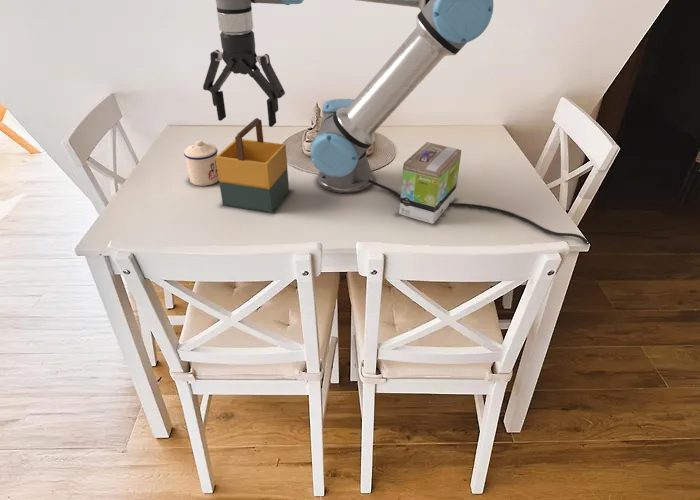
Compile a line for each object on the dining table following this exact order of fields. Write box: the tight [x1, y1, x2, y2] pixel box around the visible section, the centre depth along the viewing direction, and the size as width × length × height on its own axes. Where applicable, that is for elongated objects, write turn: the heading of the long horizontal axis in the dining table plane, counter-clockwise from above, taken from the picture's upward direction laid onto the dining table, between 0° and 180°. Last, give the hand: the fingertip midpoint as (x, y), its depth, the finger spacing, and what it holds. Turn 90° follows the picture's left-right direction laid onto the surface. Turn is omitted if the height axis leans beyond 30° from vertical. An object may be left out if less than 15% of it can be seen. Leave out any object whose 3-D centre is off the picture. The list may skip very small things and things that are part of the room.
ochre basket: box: [215, 117, 288, 189], centre depth 137 cm, size 14×12×14 cm
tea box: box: [398, 141, 462, 225], centre depth 137 cm, size 15×10×15 cm
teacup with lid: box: [183, 139, 219, 187], centre depth 152 cm, size 12×9×12 cm
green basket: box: [218, 169, 290, 214], centre depth 143 cm, size 14×12×7 cm
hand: (247, 121), depth 133 cm, fingers open, 13 cm apart
